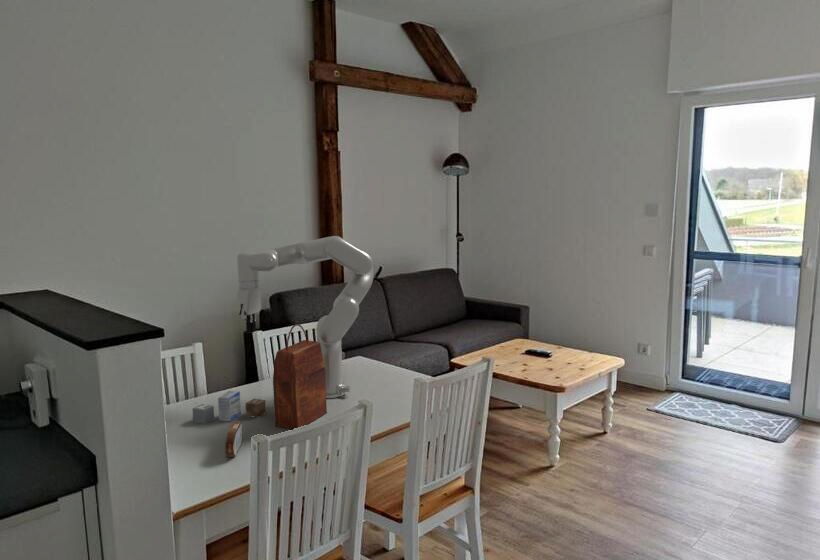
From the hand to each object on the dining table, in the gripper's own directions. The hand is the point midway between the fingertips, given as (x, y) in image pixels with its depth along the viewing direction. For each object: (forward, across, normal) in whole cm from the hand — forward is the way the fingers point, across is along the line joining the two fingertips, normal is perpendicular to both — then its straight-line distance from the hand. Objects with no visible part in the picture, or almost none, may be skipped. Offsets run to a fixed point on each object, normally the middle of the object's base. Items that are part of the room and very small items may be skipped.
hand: (251, 331), depth 227 cm
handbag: (+27, +14, +28) cm, 42 cm away
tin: (+27, +44, +21) cm, 56 cm away
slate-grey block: (+27, +26, -4) cm, 37 cm away
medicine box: (+27, +20, +3) cm, 34 cm away
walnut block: (+27, +15, +10) cm, 32 cm away
